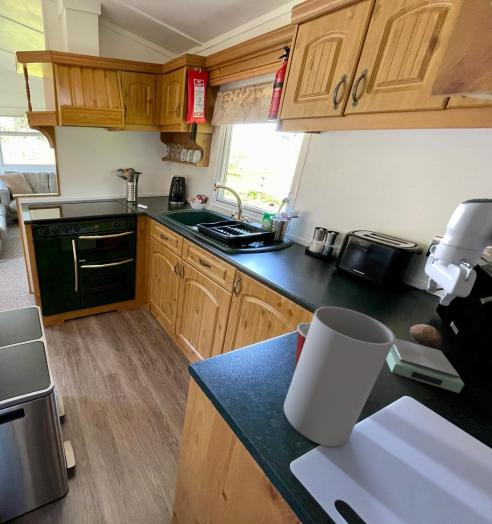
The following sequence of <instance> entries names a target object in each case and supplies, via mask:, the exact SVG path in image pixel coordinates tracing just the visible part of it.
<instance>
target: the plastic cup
mask: <svg viewBox="0 0 492 524" xmlns="http://www.w3.org/2000/svg"><path fill="white" fill-rule="evenodd" d="M310 325H311V322H300V323H298V324H297V325H296V329H297V342H296V351H295V368H296V367H297V364H298V361H299V358H300V355H301V352H302V349H303V346H304V343H305V340H306V337H307V334H308V331H309V328H310Z"/></svg>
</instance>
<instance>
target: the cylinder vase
mask: <svg viewBox="0 0 492 524" xmlns="http://www.w3.org/2000/svg"><path fill="white" fill-rule="evenodd" d="M310 323H311V325H310V328H309V331H308V334H307V337H306V340H305V343H304V346H303V349H302V352H301V355H300V358H299V361H298V364H297V367H296V366H295V370H294V373H293V376H292V380H291V382H290V385H289V387H288V391H287V395H286V397H285V399H284V404H283V411H284V414H285V417H286V419H287V421H288V423H289V424H290V425H291V426H292V427H293V429H294V430H296V432H298V433H299V434H300V435H302V436H303V437H305V438H306V439H308V440H309V441H312V442H313V443H316V444H318V445H321V446H324V447H335V448H336V447H341V446H342V445H345V444H346V443H347V442H348V440H349V439H350V436H351V435H352V432H353V431H354V428H355V426H356V424H357V422H358V420H359V417H360V415H361V413H362V411H363V409H364V407H365V405H366V403H367V400H368V398H369V397H370V394H371V392H372V390H373V388H374V385H375V384H376V382H377V379H378V377H379V375H380V374H381V370H382V369H383V366H384V365H385V362H386V361H387V360H386V358H387V356H388V354H389V352H390V349H391V347H392V345H393V343H394V341H395V338H396V335H395V334H394V332H393V331H392V329H390V328H389V327H388V326H387V325H386V324H384V323H382V322H380V321H379V320H377V319H375V318H373V317H371V316H369V315H366V314H364V313H362V312H359V311H356V310H352V309H349V308H344V307H339V306H321V307H318V308H317V309H315V311H314V314H313V316H312V319H311V322H310Z"/></svg>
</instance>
